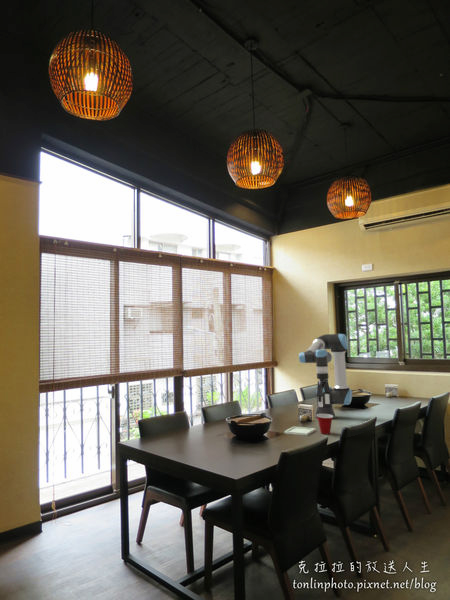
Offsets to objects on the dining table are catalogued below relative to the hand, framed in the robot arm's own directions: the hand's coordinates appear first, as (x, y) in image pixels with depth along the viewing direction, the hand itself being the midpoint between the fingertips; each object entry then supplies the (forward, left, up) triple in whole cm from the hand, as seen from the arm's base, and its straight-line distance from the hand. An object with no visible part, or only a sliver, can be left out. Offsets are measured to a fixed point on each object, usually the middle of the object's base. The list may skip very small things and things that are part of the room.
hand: (324, 405), depth 280 cm
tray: (+2, -17, -18) cm, 25 cm away
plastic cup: (0, 0, -19) cm, 18 cm away
